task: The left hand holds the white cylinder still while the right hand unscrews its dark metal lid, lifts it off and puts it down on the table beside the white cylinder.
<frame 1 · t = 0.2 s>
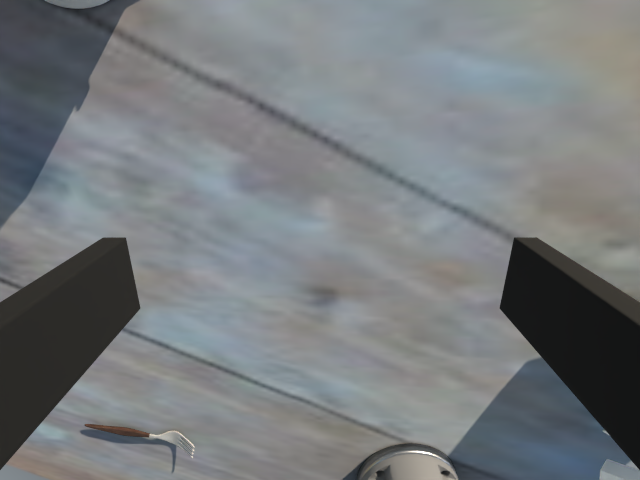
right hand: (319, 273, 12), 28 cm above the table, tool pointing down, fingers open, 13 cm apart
fork: (143, 430, 53), on the table
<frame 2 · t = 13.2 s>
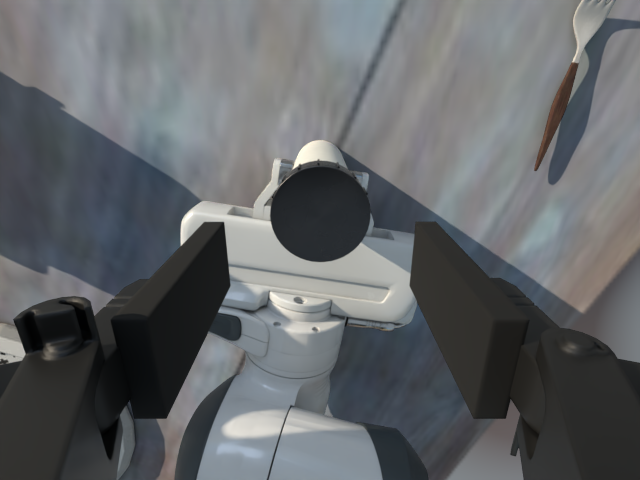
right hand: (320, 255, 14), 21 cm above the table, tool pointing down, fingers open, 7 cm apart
left hand: (321, 166, 28), fingers closed on white cylinder, 4 cm apart
wall clock: (14, 421, 45), on the table
fork: (564, 78, 31), on the table
white cylinder: (320, 164, 34), on the table, touching left hand
lid: (320, 214, 19), point 16 cm above the table, screwed on, not yet turned
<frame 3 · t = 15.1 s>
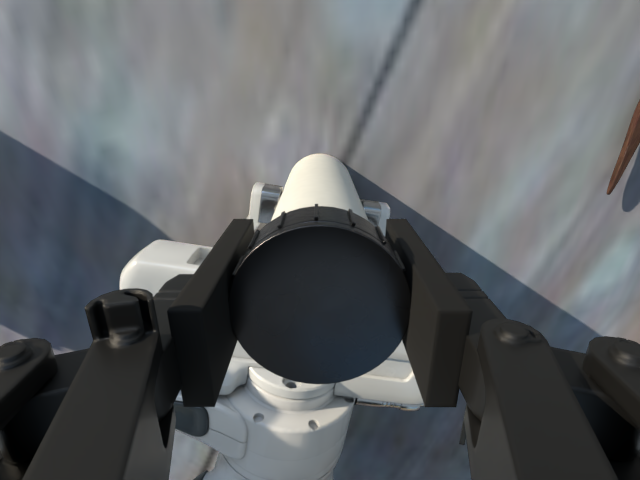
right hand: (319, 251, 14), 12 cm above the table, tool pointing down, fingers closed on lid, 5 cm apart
white cylinder: (319, 185, 25), on the table, touching left hand
lid: (319, 305, 11), point 16 cm above the table, screwed on, not yet turned, touching right hand
when the right hand's fingers open (12 cm above the table, at t = 16.5 s): lid stays where it is, point 16 cm above the table.
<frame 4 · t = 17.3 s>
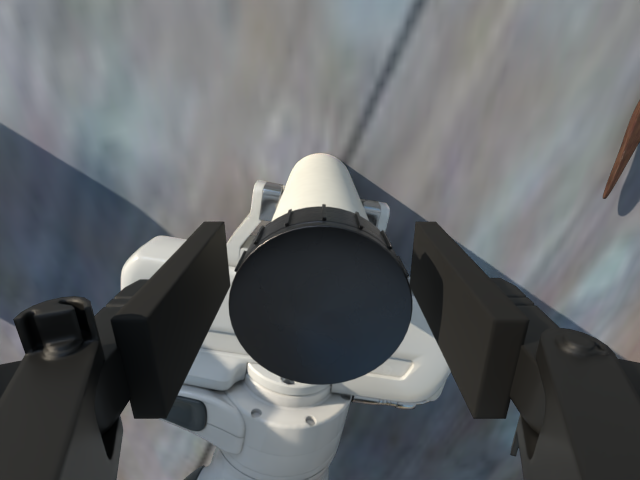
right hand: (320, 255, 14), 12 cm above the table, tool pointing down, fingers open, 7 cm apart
white cylinder: (320, 185, 26), on the table, touching left hand
lid: (320, 306, 11), point 16 cm above the table, turned 87° so far, risen 0.3 cm, still on its thread
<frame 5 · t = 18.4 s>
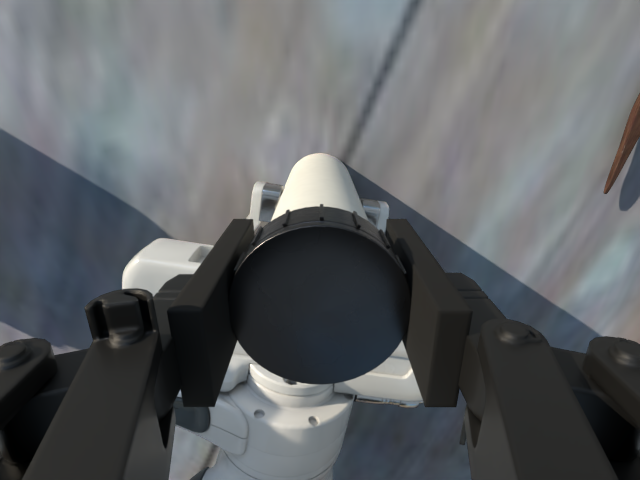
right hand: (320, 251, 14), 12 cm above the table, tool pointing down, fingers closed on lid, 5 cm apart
white cylinder: (319, 185, 26), on the table, touching left hand
lid: (319, 306, 11), point 16 cm above the table, turned 87° so far, risen 0.3 cm, still on its thread, touching right hand
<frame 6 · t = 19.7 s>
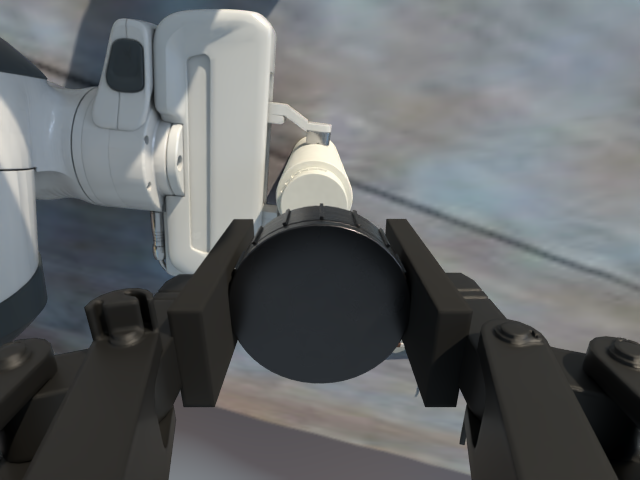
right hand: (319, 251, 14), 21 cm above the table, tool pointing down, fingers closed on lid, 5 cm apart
left hand: (325, 172, 28), fingers closed on white cylinder, 4 cm apart
white cylinder: (314, 159, 34), on the table, touching left hand
lid: (319, 305, 11), point 25 cm above the table, off its thread, touching right hand
when the right hand's fingers open (0 cm above the table, at t = 25.7 s): lid drops 3 cm, point 2 cm above the table.
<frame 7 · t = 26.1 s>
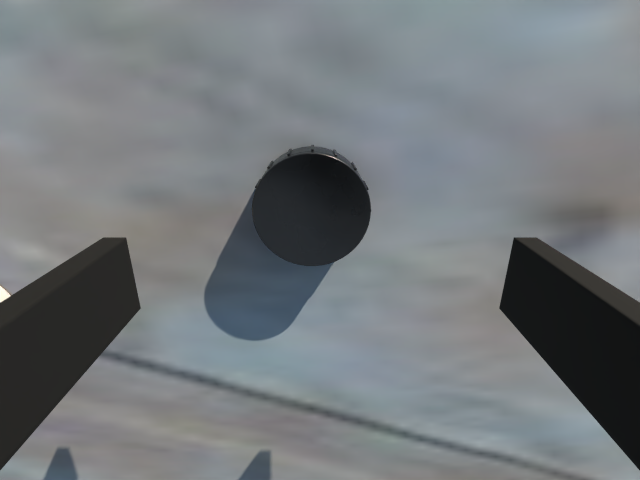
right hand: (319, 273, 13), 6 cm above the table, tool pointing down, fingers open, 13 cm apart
lid: (311, 210, 16), point 2 cm above the table, off its thread
when the left hand's fingers open (6 cm above the table, at t = 26.4 s): white cylinder stays where it is, on the table.
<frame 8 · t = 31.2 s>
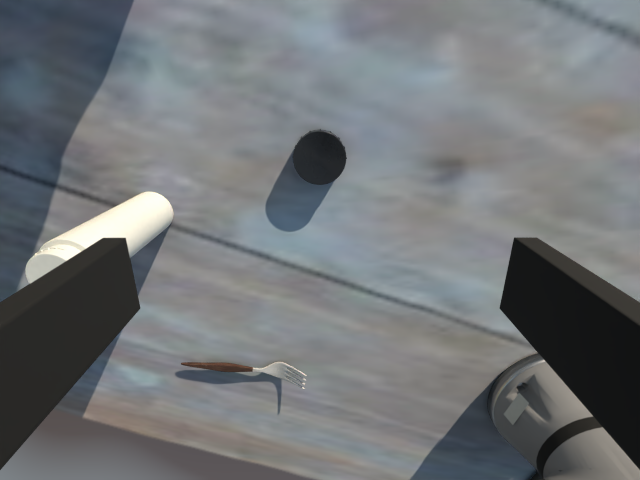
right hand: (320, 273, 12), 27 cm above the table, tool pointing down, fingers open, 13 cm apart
fork: (245, 365, 47), on the table
white cylinder: (152, 211, 39), on the table
lid: (319, 158, 36), point 2 cm above the table, off its thread
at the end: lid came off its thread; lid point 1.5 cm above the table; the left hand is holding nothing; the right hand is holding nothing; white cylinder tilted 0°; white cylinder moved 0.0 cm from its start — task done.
